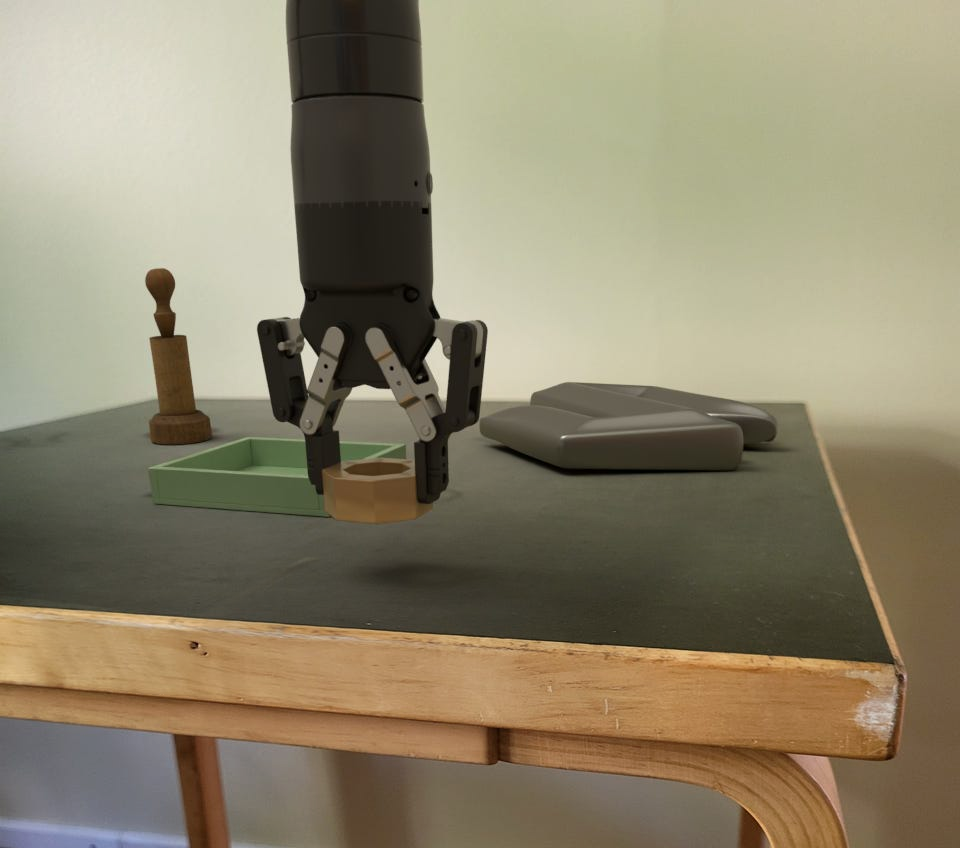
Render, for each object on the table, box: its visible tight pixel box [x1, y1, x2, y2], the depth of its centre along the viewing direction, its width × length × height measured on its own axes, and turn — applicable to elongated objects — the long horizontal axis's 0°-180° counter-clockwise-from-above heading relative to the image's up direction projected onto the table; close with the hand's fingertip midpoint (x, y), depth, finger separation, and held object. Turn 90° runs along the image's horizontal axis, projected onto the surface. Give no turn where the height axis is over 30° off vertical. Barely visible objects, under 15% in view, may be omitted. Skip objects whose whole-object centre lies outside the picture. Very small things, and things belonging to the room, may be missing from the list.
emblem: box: [478, 381, 779, 472], centre depth 97 cm, size 28×5×28 cm
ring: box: [322, 458, 434, 525], centre depth 59 cm, size 6×6×3 cm
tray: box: [147, 436, 407, 518], centre depth 83 cm, size 17×15×3 cm
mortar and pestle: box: [144, 267, 213, 446], centre depth 106 cm, size 7×6×18 cm
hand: (378, 495), depth 59 cm, fingers closed on ring, 6 cm apart
